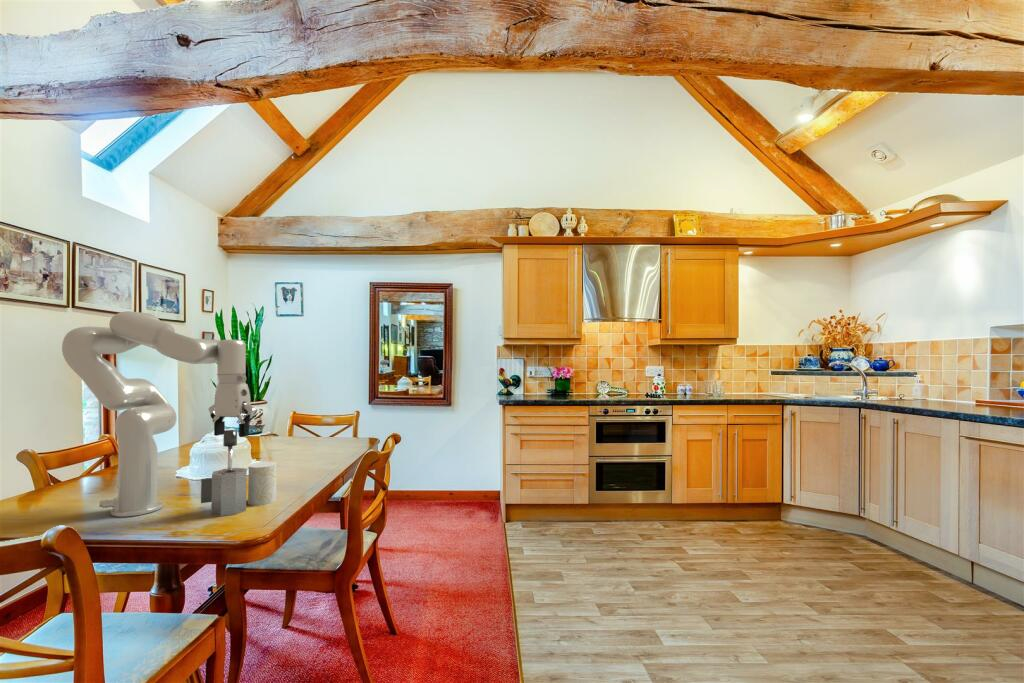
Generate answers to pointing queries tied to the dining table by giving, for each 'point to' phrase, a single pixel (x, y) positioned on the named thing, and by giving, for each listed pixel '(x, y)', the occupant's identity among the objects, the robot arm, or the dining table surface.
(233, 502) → the octagonal faceted vessel
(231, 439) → the plunger
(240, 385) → the robot arm
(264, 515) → the dining table surface
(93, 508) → the dining table surface
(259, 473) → the light grey cylinder
